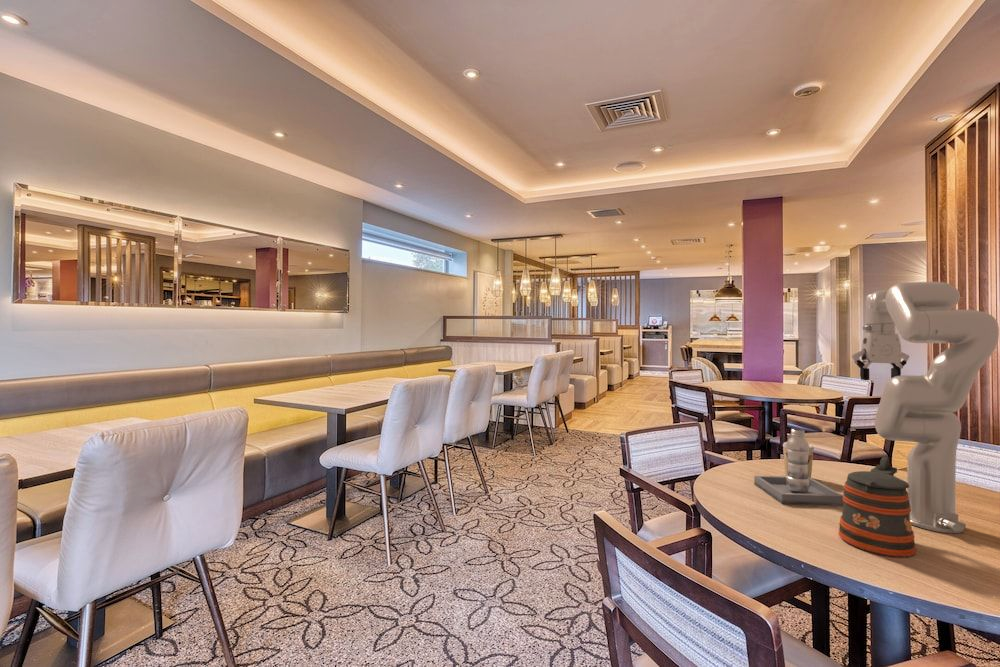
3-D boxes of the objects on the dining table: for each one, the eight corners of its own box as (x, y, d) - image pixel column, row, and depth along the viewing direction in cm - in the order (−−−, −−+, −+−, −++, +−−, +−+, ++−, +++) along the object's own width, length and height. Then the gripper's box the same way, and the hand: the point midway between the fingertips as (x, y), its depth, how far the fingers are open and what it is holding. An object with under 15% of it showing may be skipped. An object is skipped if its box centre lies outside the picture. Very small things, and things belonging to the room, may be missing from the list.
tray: (845, 506, 135) (845, 496, 135) (782, 504, 137) (782, 494, 137) (809, 486, 153) (809, 477, 153) (754, 484, 155) (754, 475, 155)
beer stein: (847, 520, 125) (847, 449, 125) (919, 538, 114) (919, 459, 114) (833, 542, 112) (833, 462, 112) (912, 564, 101) (913, 476, 101)
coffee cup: (783, 479, 160) (783, 445, 160) (781, 472, 168) (781, 440, 168) (815, 483, 156) (815, 449, 156) (811, 476, 164) (811, 443, 164)
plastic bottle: (789, 494, 143) (790, 431, 143) (782, 487, 149) (783, 426, 149) (813, 496, 141) (813, 432, 141) (805, 489, 147) (805, 428, 147)
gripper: (860, 329, 149) (860, 380, 149) (917, 329, 147) (917, 381, 147) (845, 329, 156) (845, 378, 156) (899, 329, 155) (899, 379, 155)
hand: (880, 380), depth 152 cm, fingers open, 9 cm apart
